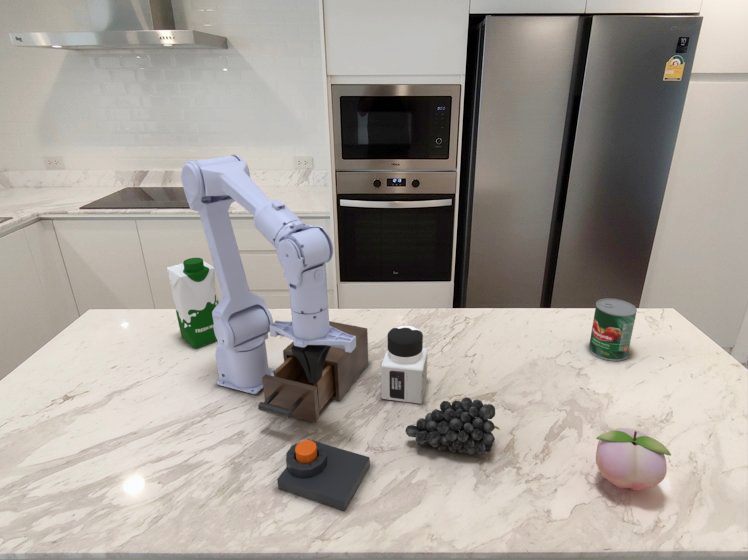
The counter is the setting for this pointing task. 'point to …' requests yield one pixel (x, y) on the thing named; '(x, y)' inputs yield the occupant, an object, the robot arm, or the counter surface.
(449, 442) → the fruit
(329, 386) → the drawer
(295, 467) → the button block
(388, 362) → the container
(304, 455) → the button
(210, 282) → the milk carton
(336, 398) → the cabinet
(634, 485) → the decorative fruit
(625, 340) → the canned tomato
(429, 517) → the counter surface
